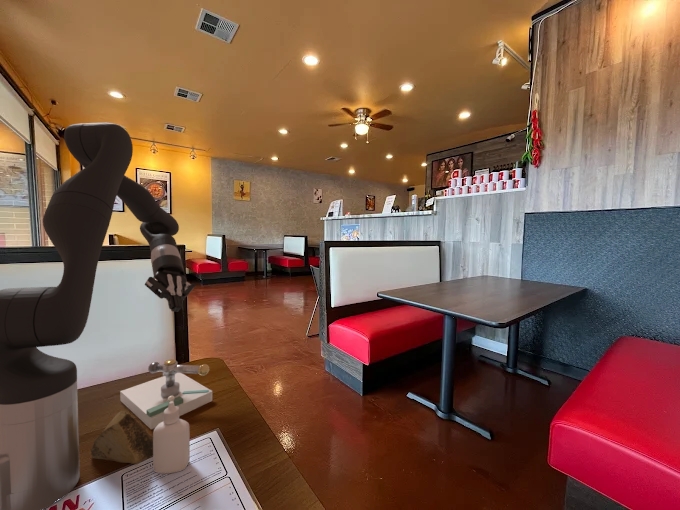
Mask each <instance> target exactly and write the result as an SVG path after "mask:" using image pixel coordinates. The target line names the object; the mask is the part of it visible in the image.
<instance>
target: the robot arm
mask: <svg viewBox="0 0 680 510" xmlns="http://www.w3.org/2000/svg"><path fill="white" fill-rule="evenodd" d="M63 134H64V135H63V136H64V137H63V138H64V142H65V146H66V148H67V149H68V151H69V153H70V154H71V155H72V156H73V158H74V159H75V160H76V161H77V162H78V163H79V164H80V166H82V167H84V168H83V169H81V170H79V171H78V172H76V173H75V174H73V175H72V176H70V177H68V179H66V180H65V181H64V182H63V183H61V184H60V185H59V186H58V187H57V188H56V189H55V191H54V192H53V193H52V195H51V198H50V200H49V202H48V205H47V206H46V209H45V211H44V214H43V217H42V225H43V228H44V231H45V234H46V235H47V237H48V238H49V240H50V242H51V243H52V245H53V247H54V248H55V249H56V251H57V252H58V253H57V254H59V256H60V259H61V260H62V263H63V273H62V277H61V280H60V283H58V285H57V286H37V287H36V286H35V287H9V288H3V289H0V510H45V509H47V508H49V507H50V506H53V505H54V504H55V503H54V502H55V501H57V500H58V499H60V498H62V497H63V496H64V497H65V496H67V495H68V494H69V493H70V492H71V491H73V489H74V488H75V487H76V485H77V483H78V482H79V481H80V470H81V469H80V468H81V465H80V440H79V439H80V438H79V433H80V432H79V407H78V406H79V404H78V401H79V400H78V368H77V365H76V363H75V362H74V361H72V360H69V359H66V358H62V357H55V356H53V355H50V354H47V353H45V352H43V351H41V350H40V349H38V348H43V347H52V346H53V347H54V346H62V345H67V344H69V345H70V344H72V343H74V342H75V341H77V340H79V338H80V337H81V335H82V333H83V332H84V329H85V327H86V325H87V322H88V318H89V315H90V309H91V305H92V299H93V293H94V292H93V291H94V285H95V279H96V273H97V269H98V264H99V260H100V255H101V252H102V248H103V246H104V242H105V238H106V235H107V232H108V229H109V226H110V222H111V221H112V220H111V219H112V217H113V216H112V215H113V213H114V212H113V210H114V206H115V202H116V198H117V197H118V199H120V200H121V202H123V204H124V205H125V206H126V207H127V209H129V211H130V212H131V213H132V214H133V216H134V217H135V218H136V220H138V221H140V222H141V223H140V226H139V231H140V234H141V235H142V236H143V238H144V239H145V240H146V242H147V243H148V245H149V249H150V263H151V268H152V269H151V270H152V274H153V276H149V277H148V278H147V279H146V281H145V283H144V286H145V287H146V288H148V290H150V291H151V292H152V293H153V294H155V296H157V297H158V298H159V299H166V301H167V304H168V309H169V310H171V312H176V313H178V312H179V311H180V310H181V309H182V308H183V301H185V299H186V298H187V297H188V296H189V295H190V293H191V292H192V291H193V290H194V288H195V287H196V284H195V283H194V282H192V283H190V282H188V281H187V277H186V276H185V270H184V265H183V260H182V258H181V254H180V252H179V249H178V245H177V242H176V239H175V238H174V236H175V235H176V234H178V233H179V230H180V226H179V225H180V224H179V223H178V221H177V220H176V219H175V217H173V216H172V215H171V214H170V213H169V212H168V211H165V209H163V208H162V207H161V206H160V205H159V204H158V202H157V201H156V199H155V198H154V196H153V194H152V193H151V192H150V191H149V190H148V189H147V188H145V187H144V186H143V185H141V183H138V182H136V181H135V180H133V179H131V178H129V177H128V176H127V175H126V173H127V170H128V168H129V166H130V164H131V161H132V157H133V151H134V148H133V146H134V145H133V140H132V138H131V135H130V134H129V132H128V131H127V130H126V128H125V127H123V126H121V125H120V124H117V123H112V122H88V123H87V122H86V123H73V124H69V125H68V126H67V127H66V128H65V129H64V133H63ZM183 287H184V290H183V292H182V289H183ZM64 497H63V498H64ZM63 498H62V499H63ZM60 500H61V499H60ZM57 502H58V501H57ZM53 503H54V504H53Z"/></svg>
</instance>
